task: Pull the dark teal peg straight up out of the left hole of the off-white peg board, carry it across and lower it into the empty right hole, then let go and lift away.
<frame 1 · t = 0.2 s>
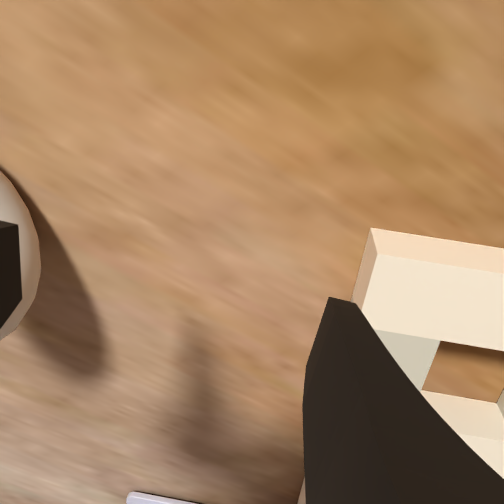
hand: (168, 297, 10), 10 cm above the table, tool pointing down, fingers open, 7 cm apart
donut: (3, 188, 21), on the table
peg board: (432, 428, 24), on the table
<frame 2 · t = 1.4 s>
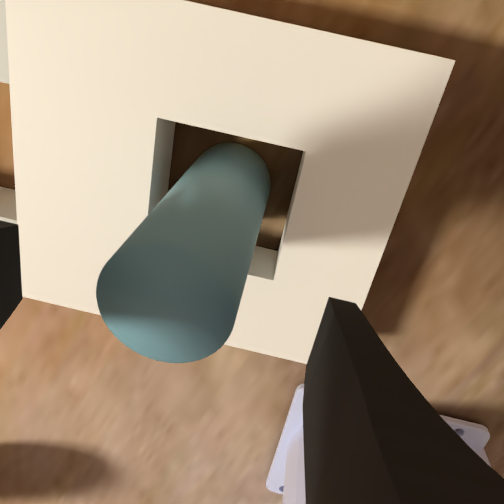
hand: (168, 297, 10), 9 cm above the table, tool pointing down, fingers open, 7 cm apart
peg: (230, 182, 18), resting in peg board
peg board: (110, 154, 18), on the table
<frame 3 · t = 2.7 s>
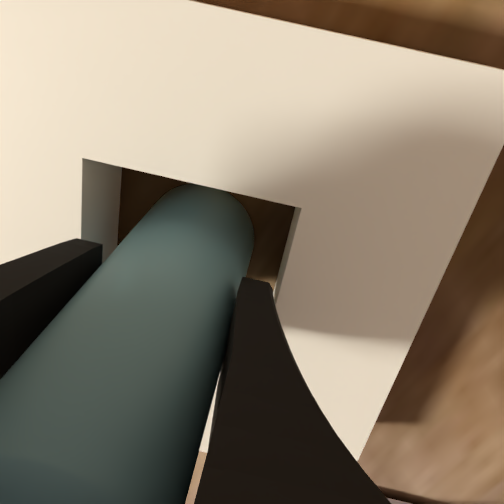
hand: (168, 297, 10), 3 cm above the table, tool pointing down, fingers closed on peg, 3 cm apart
peg: (200, 235, 13), resting in peg board, touching gripper
peg board: (37, 197, 13), on the table
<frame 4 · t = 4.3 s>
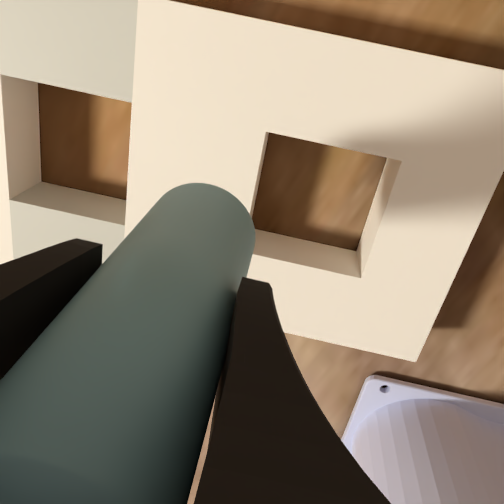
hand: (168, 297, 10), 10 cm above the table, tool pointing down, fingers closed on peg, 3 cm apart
peg: (201, 234, 13), point 7 cm above the table, touching gripper
peg board: (204, 164, 20), on the table
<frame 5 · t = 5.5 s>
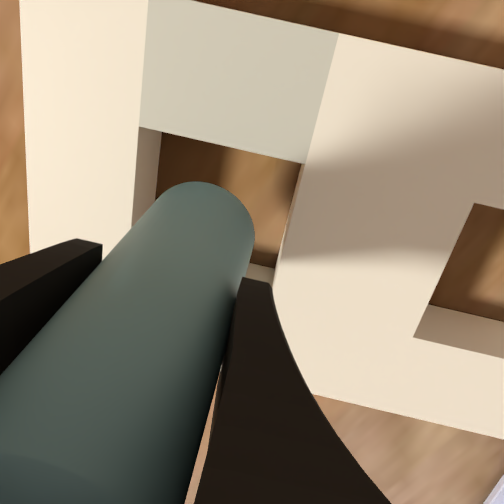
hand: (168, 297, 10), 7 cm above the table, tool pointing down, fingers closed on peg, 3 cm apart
peg: (200, 233, 13), point 4 cm above the table, touching gripper
peg board: (356, 226, 16), on the table
when the fingers open (5 cm above the table, at t = 6.4 s): peg drops 1 cm, resting in peg board.
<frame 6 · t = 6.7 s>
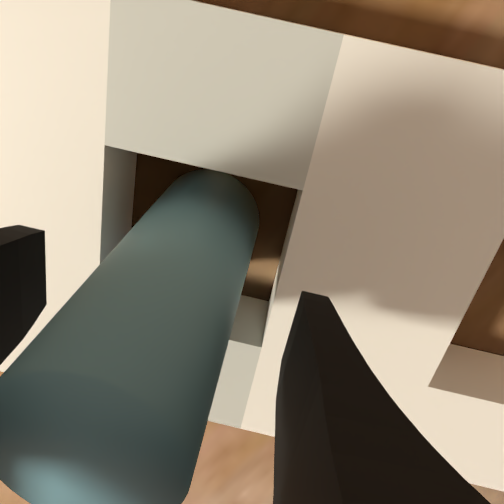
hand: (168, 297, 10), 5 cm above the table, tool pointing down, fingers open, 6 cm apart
peg: (209, 217, 14), resting in peg board
peg board: (362, 255, 14), on the table
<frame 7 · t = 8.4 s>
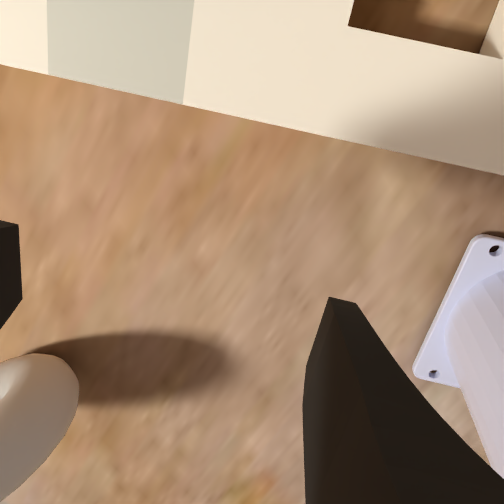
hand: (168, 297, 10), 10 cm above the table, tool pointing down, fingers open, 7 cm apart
donut: (38, 363, 27), on the table
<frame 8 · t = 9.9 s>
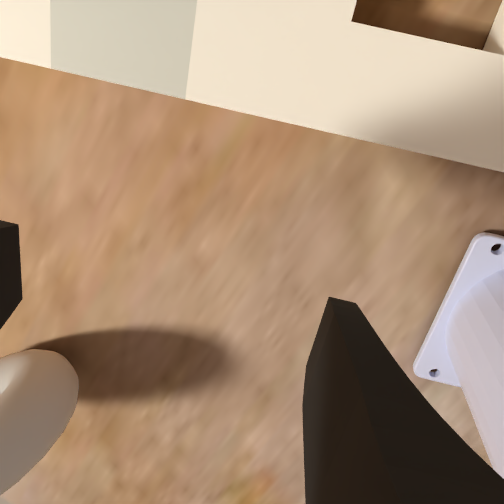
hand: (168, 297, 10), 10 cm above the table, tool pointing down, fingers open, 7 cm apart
donut: (38, 359, 27), on the table
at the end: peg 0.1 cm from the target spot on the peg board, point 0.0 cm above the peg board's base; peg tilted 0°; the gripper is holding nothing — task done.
